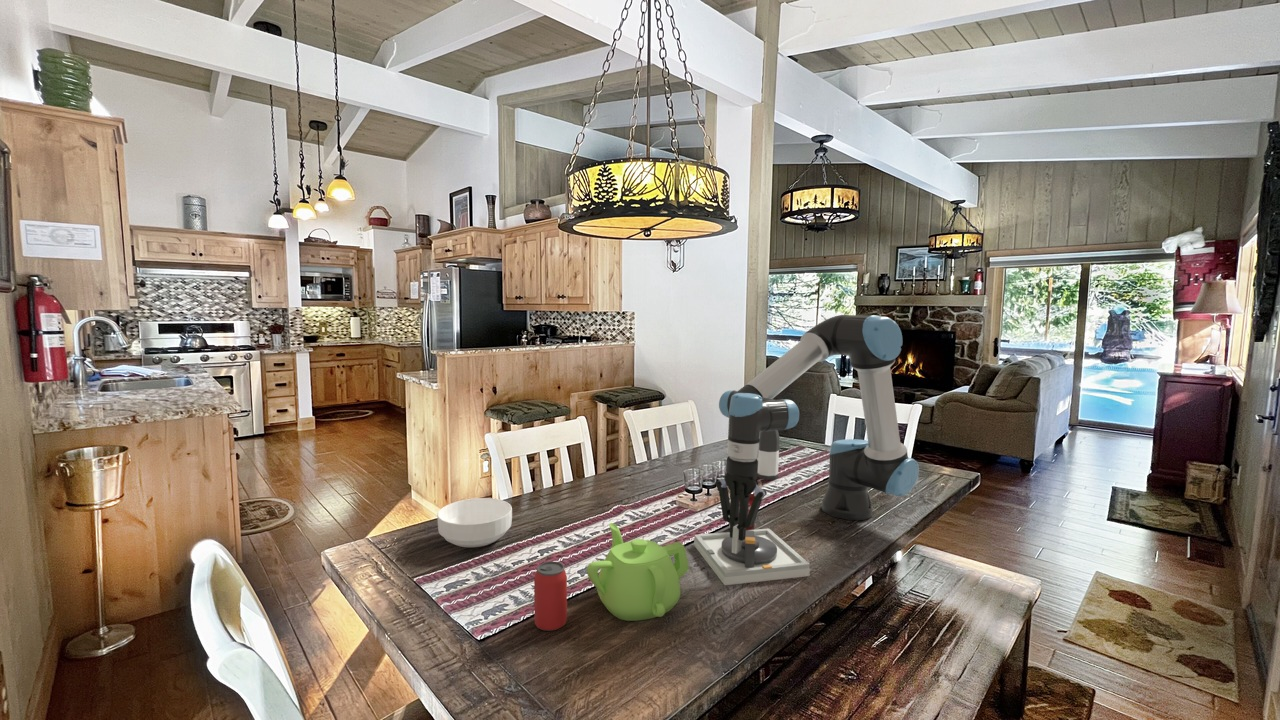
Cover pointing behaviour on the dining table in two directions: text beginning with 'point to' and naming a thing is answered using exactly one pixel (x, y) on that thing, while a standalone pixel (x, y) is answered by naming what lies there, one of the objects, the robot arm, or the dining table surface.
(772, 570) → the panel
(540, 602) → the beer can
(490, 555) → the dining table surface
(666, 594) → the teapot
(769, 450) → the wine bottle
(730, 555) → the dial
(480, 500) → the bowl
